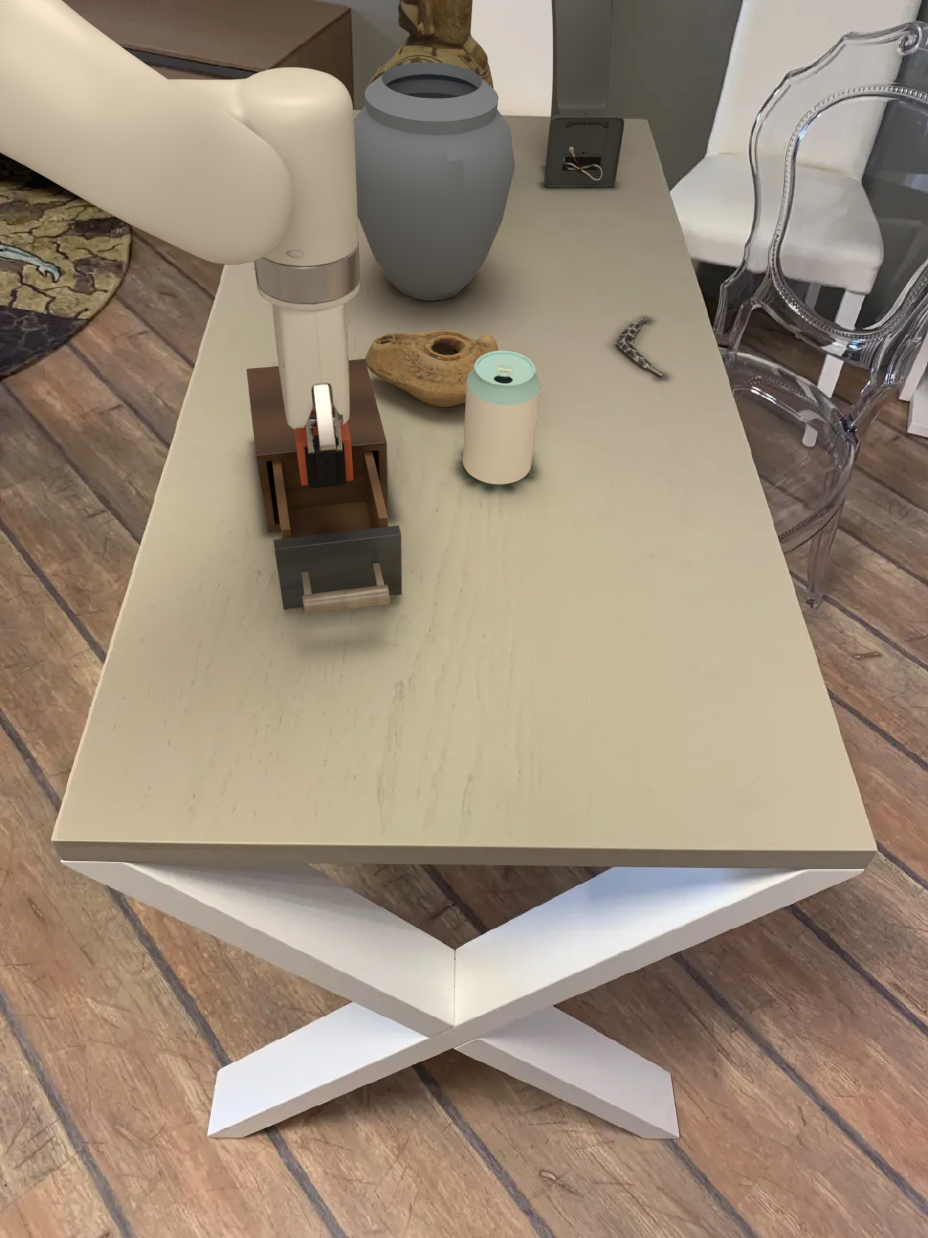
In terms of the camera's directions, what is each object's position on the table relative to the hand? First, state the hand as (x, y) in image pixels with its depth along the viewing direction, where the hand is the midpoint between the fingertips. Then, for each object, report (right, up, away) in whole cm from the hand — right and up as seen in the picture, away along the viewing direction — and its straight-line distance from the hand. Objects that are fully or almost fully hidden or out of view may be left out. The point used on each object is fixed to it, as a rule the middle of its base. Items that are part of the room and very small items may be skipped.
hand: (323, 463), depth 82 cm
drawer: (+1, -9, +4) cm, 10 cm away
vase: (+8, +29, +40) cm, 50 cm away
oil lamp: (+9, +12, +24) cm, 28 cm away
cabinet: (-2, +1, +13) cm, 14 cm away
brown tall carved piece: (+7, +53, +62) cm, 82 cm away
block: (0, 0, 0) cm, 0 cm away
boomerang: (+33, +19, +32) cm, 50 cm away
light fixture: (+29, +58, +67) cm, 93 cm away
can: (+16, +2, +16) cm, 22 cm away
